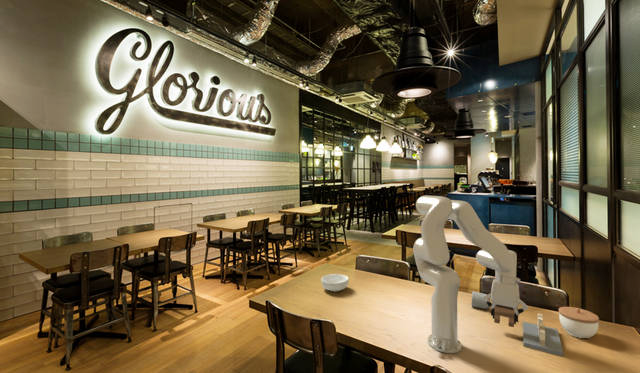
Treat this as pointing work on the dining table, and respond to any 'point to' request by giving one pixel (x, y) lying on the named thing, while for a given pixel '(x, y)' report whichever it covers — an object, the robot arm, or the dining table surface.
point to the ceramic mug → (479, 300)
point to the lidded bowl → (578, 322)
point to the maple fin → (541, 329)
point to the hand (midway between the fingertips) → (504, 319)
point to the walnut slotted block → (504, 314)
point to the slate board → (550, 339)
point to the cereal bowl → (334, 282)
